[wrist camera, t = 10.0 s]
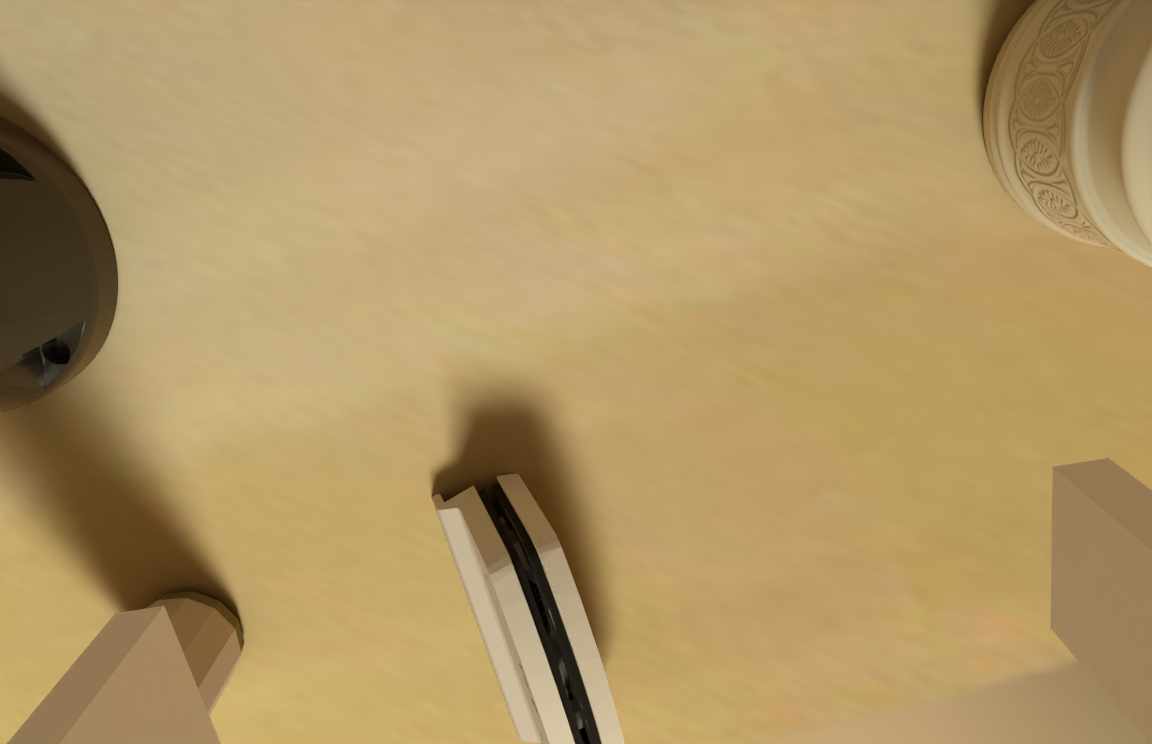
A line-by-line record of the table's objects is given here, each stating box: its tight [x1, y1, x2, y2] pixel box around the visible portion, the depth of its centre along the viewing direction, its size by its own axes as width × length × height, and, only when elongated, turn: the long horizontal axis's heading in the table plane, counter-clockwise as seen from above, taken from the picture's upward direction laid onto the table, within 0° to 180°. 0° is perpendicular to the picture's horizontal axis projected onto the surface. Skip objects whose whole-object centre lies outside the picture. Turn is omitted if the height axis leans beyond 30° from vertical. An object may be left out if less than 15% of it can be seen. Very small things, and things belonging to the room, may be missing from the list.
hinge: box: [432, 474, 625, 744], centre depth 45 cm, size 17×5×10 cm, turn 15°
